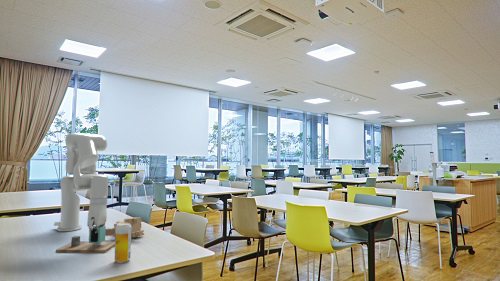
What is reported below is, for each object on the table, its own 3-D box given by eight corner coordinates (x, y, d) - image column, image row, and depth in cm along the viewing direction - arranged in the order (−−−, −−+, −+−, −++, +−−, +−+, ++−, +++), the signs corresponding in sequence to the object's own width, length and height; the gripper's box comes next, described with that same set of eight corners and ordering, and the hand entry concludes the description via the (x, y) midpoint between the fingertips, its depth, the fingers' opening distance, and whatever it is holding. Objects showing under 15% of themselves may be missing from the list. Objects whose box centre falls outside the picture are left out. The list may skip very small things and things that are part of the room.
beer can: (117, 258, 132) (118, 222, 133) (132, 258, 132) (133, 222, 133) (112, 263, 126) (113, 225, 127) (127, 263, 126) (128, 225, 127)
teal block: (88, 242, 144) (89, 228, 145) (94, 240, 150) (94, 226, 150) (100, 243, 144) (100, 228, 145) (105, 240, 150) (105, 226, 150)
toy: (150, 214, 175) (122, 217, 181) (125, 221, 156) (94, 223, 163) (152, 232, 173) (123, 234, 180) (127, 241, 155) (96, 243, 162)
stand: (55, 252, 140) (56, 240, 140) (72, 243, 154) (73, 233, 154) (105, 252, 140) (105, 240, 140) (117, 244, 154) (118, 233, 154)
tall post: (92, 246, 146) (93, 232, 146) (95, 244, 148) (96, 231, 148) (98, 246, 146) (98, 232, 146) (101, 244, 148) (101, 231, 149)
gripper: (99, 198, 156) (97, 235, 155) (81, 203, 139) (79, 245, 138) (114, 198, 157) (112, 235, 156) (98, 203, 140) (96, 245, 139)
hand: (97, 239), depth 147 cm, fingers closed on teal block, 5 cm apart
